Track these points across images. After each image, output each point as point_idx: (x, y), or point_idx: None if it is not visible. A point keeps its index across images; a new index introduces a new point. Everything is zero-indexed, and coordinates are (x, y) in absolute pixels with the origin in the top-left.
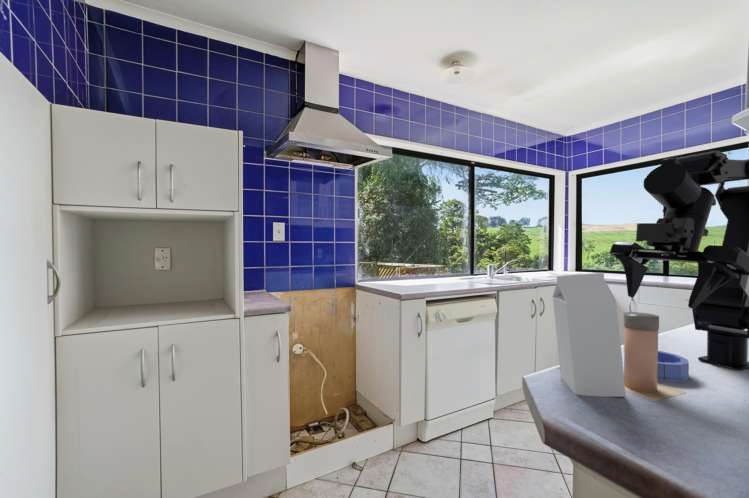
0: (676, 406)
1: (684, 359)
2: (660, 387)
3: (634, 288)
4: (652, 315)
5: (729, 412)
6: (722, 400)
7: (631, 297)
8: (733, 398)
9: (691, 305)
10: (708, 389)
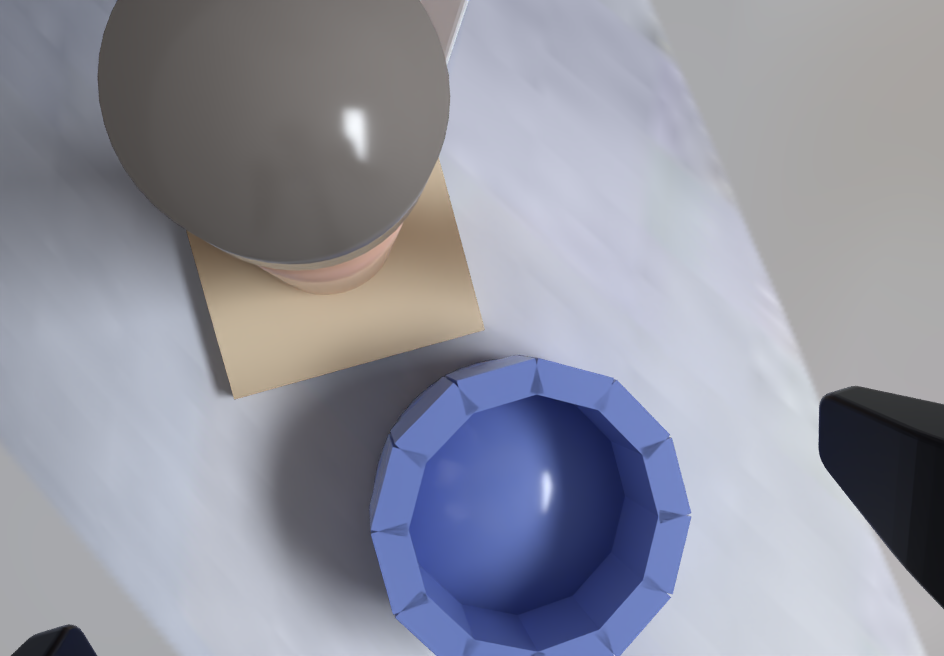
0: (143, 246)
1: (458, 653)
2: (308, 325)
3: (930, 511)
4: (231, 191)
5: (56, 438)
6: (178, 538)
7: (827, 438)
8: (193, 618)
9: (24, 650)
10: (305, 599)
